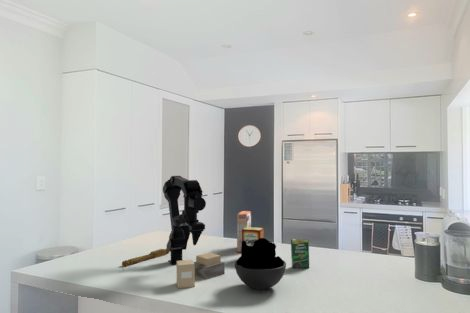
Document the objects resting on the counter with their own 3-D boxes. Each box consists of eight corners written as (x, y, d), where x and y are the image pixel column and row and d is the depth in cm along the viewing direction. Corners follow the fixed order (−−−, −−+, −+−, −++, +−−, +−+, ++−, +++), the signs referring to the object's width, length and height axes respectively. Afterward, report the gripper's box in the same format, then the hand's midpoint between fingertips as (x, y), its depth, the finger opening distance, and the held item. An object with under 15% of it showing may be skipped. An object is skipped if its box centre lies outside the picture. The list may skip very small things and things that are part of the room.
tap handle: (121, 260, 167) (166, 247, 192) (121, 266, 167) (166, 253, 192) (125, 261, 166) (170, 248, 191) (125, 268, 166) (170, 253, 191)
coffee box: (292, 268, 163) (292, 240, 163) (290, 266, 166) (290, 238, 166) (309, 268, 163) (309, 239, 163) (308, 266, 166) (307, 238, 166)
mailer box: (176, 283, 144) (176, 260, 144) (192, 281, 145) (192, 259, 146) (178, 288, 137) (178, 265, 138) (194, 286, 139) (194, 264, 139)
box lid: (196, 262, 156) (196, 255, 156) (209, 259, 161) (209, 252, 161) (207, 266, 150) (207, 259, 150) (220, 262, 155) (220, 255, 155)
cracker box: (247, 253, 191) (247, 214, 191) (236, 252, 192) (236, 213, 192) (251, 246, 205) (251, 210, 205) (241, 246, 206) (241, 210, 206)
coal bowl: (288, 281, 145) (287, 235, 145) (283, 300, 126) (283, 247, 126) (240, 278, 150) (240, 233, 150) (229, 295, 130) (229, 244, 131)
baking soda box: (242, 260, 176) (241, 228, 176) (246, 257, 182) (246, 226, 182) (260, 262, 173) (260, 229, 173) (263, 259, 179) (263, 227, 179)
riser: (192, 273, 156) (192, 262, 156) (210, 268, 162) (210, 258, 163) (206, 279, 148) (206, 267, 148) (224, 273, 155) (224, 262, 155)
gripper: (166, 207, 162) (166, 241, 162) (181, 212, 146) (181, 249, 146) (189, 205, 168) (189, 238, 167) (205, 210, 151) (205, 246, 151)
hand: (190, 243), depth 158 cm, fingers open, 9 cm apart
